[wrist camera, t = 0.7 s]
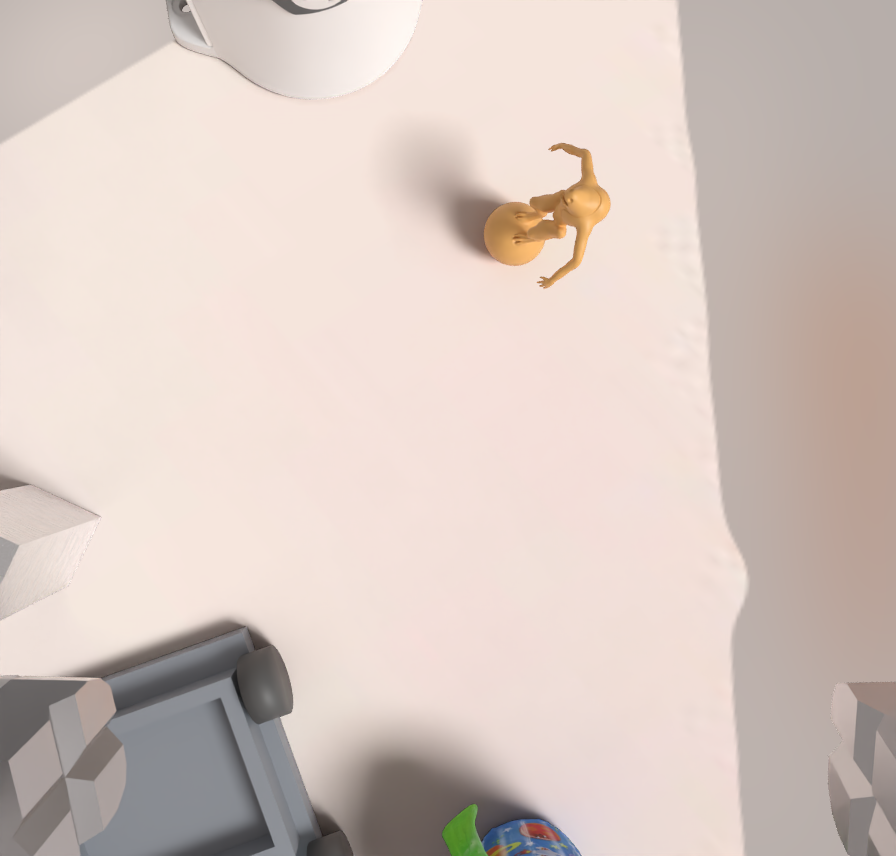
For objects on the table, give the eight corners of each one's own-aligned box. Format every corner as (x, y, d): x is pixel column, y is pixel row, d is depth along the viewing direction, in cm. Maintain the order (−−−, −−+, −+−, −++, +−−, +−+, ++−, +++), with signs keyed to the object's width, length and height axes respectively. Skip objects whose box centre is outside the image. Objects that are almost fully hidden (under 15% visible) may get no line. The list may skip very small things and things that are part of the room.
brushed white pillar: (-3, 553, 52) (-113, 591, 41) (31, 484, 52) (-71, 504, 41) (68, 585, 52) (-23, 632, 41) (101, 517, 52) (19, 545, 41)
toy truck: (-8, 717, 52) (-47, 745, 48) (268, 618, 53) (254, 637, 48) (97, 996, 53) (68, 1051, 48) (368, 896, 54) (364, 940, 49)
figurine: (486, 175, 53) (508, 106, 41) (575, 184, 53) (623, 118, 41) (476, 300, 53) (495, 268, 41) (565, 308, 53) (609, 278, 41)
